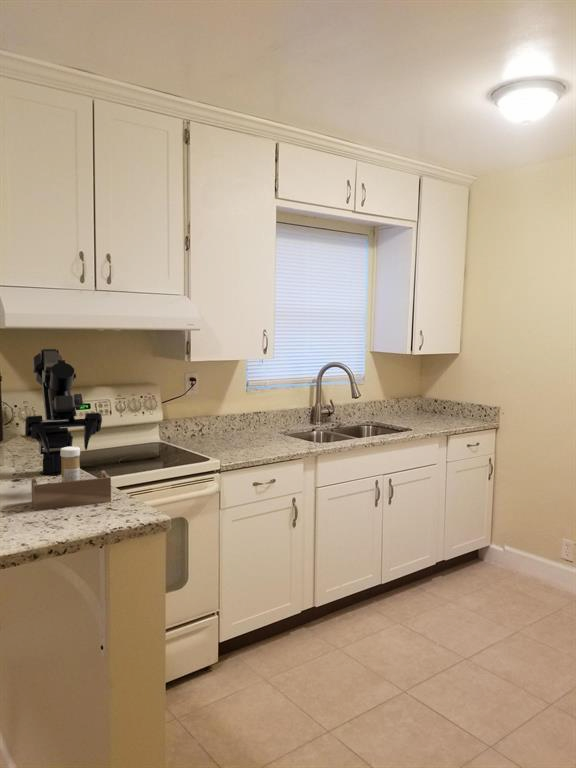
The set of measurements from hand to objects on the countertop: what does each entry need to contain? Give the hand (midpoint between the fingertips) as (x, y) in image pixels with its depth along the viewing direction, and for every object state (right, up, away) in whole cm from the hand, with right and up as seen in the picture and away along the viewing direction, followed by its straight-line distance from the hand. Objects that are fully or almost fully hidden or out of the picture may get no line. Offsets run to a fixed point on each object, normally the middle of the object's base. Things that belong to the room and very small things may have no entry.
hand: (67, 450), depth 152 cm
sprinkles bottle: (+2, -12, -3) cm, 13 cm away
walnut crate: (+2, -12, -3) cm, 13 cm away
